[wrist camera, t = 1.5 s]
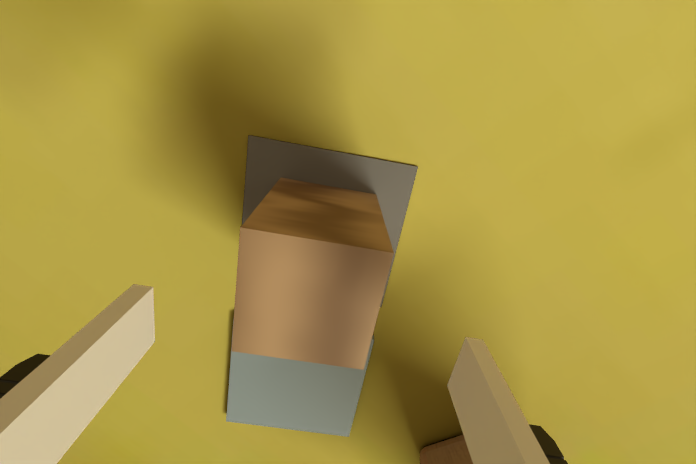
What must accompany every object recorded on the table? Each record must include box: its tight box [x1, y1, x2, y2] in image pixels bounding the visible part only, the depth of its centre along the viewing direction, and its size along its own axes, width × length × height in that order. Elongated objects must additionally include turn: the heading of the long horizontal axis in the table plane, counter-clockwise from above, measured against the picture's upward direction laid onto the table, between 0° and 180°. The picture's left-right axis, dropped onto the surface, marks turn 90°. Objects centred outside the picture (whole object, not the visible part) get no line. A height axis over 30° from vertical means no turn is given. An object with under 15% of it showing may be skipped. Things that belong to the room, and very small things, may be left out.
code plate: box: [242, 135, 418, 307], centre depth 26 cm, size 12×12×1 cm
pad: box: [226, 319, 374, 437], centre depth 31 cm, size 12×12×1 cm
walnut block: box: [232, 177, 394, 370], centre depth 21 cm, size 7×7×10 cm
